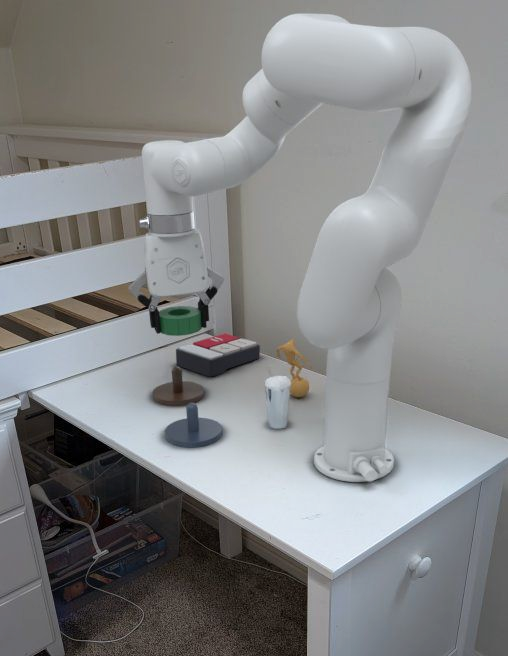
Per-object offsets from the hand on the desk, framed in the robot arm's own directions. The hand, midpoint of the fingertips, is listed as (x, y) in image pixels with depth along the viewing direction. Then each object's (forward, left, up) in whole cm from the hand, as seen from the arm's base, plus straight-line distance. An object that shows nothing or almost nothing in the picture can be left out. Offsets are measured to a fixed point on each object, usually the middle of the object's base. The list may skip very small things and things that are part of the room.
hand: (180, 327), depth 130 cm
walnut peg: (+9, 0, -16) cm, 19 cm away
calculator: (+24, -12, -17) cm, 32 cm away
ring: (0, 0, 0) cm, 0 cm away
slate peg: (-9, +1, -16) cm, 19 cm away
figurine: (0, -21, -17) cm, 27 cm away
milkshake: (-10, -14, -17) cm, 24 cm away
